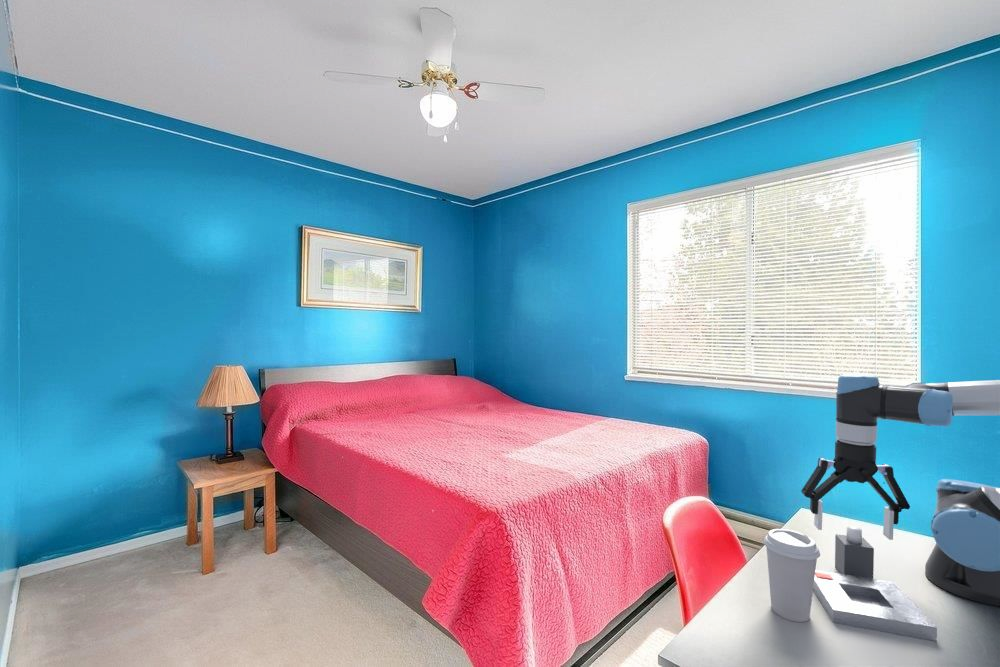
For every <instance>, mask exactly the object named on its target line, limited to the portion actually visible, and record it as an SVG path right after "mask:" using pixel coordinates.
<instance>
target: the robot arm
mask: <svg viewBox="0 0 1000 667" xmlns="http://www.w3.org/2000/svg"><path fill="white" fill-rule="evenodd" d="M836 390H837V391H836V392H835V394H836V406H835V407H836V409H835V410H836V414H835V438H837V439H836V440H834V442H835V443H834V445H835V446H834V458H833V460H830V459H825V458H823V457H819V458H818V461H817V465H816V467H815V469H814V471H813V472H812V473H811V475H810V477H809V478H808V479H807V481H806V483H805V484H804V486H803V487H802V489H801V493H802V494H803V496H804V497H805V498H809V499H810V500H809V502H810V505H809V509H810V510H809V511H810V512H811V513H812V514H814V522H813V523H814V524H813V525H814V526H815V528H816V529H817V530H819V531H822V530H823V529H822V528H823V511H824V508H823V506H824V503H823V501H822V500H821V499H822V498H823V497H824V496H826V494H828V493H829V492H830V491H831V490H832V489H834V488H835V487H837V485H838V484H841V483H842V482H844V481H846V482H849V483H855V482H856V483H859V484H865V483H868V485H870V487H871V488H872V489H873V490H874V491H875V492H876V493H877V494H878V495H879V496H880V498H881V499H882V500H883V501H884V502H885V504H887V506H883V524H882V526H883V528H882V535H883V536H885V537H886V539H887V540H890V541H893V540H894V525H898V524H899V519H900V518H899V515H900V514H899V513H901V512H903V510H909V509H911V506H910V503H909V501H908V500H907V499H906V497H905V494H904V493H903V491H902V489H901V488H900V485H899V484H898V482H897V479H896V478H895V476H894V475H895V474H894V468H893V466H890V465H889V464H887V463H882V464H877V446H876V444H875V443H877V442H878V441H877V438H878V419H881V420H889V421H890V420H891V421H897V422H903V423H912V424H918V425H925V426H926V427H927V426H929V427H931V426H935V427H937V426H938V427H949V426H951V425H952V420H953V419H952V418H953V417H955V416H959V417H960V416H1000V379H995V380H993V379H992V380H990V379H989V380H972V381H970V380H969V381H967V380H966V381H955V382H954V381H953V382H951V381H950V382H949V381H948V382H930V383H928V382H927V383H926V382H913V383H910V384H907V385H905V386H903V387H902V386H889V385H884V384H881V383H880V380H879V377H878V376H875V375H869V374H868V375H867V374H859V373H858V374H856V373H844V374H841V375H839V377H838V379H837V388H836ZM831 467H833V468H834V469H835V470H834V471H833V472H832V473H831V474H830V476H829V477H828V478H826V479H825V480H824V481H823V482H822V483H821V484H820V482H821V480H822V479H823V478H824V476H825V474H826V472H827V470H830V468H831ZM878 472H879V473H880V474H881V475H882V476H883V478H884V480H885V482H886V484H887V486H888V487H889V489H890V491H891V493H892V495H893V497H894V498H895V500H896V501H894V499H893V498H892V497H891V496H890V495H889V494H888V492H887V491H886V490H885V489H884V488H883V486H881V485H880V483H879V482H878V480H876V479H875V478H874V477H873V476H874V475H876V474H877V473H878ZM935 491H936V507H935V510H934V515H933V517H932V519H931V522H930V530H931V533H932V536H933V539H934V541H935V545H934V546H933V549H932V551H931V552H930V555H929V556H928V558H927V561H926V562H925V567H924V575H925V577H926V578H927V579H928V581H930V583H932V584H934V585H936V586H937V587H939V588H940V589H943V590H945V591H947V592H949V593H951V594H953V595H955V596H959V597H961V598H965V599H967V600H971V601H973V602H976V603H980V604H985V605H990V606H994V607H995V606H996V607H1000V487H997V486H993V485H987V484H982V483H977V482H972V481H967V480H966V481H965V480H959V479H958V480H957V479H952V478H951V479H950V478H943V479H939V480H938V482H937V486H936V488H935Z"/></svg>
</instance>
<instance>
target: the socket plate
mask: <svg viewBox="0 0 1000 667" xmlns="http://www.w3.org/2000/svg"><path fill="white" fill-rule="evenodd" d="M813 592H814V594H815V595H816V597H817V599H818V600H819V602H820V603H821V605H822V607H823V609H824V611H825V612H826V613H827V616H829V618H830V620H831V621H832V623H834V624H835V623H836V624H841V625H846V626H851V627H855V628H856V627H857V628H863V629H867V630H872V631H873V630H874V631H879V632H883V633H888V634H889V633H890V634H894V635H895V634H896V635H901V636H906V637H912V638H917V639H922V640H927V641H933V642H938V636H937V635H938V627H937V626H936V625H935V624H934V623H933V622H932V621H931V620H930V619H929V618H928V617H927V616H926V614H924V613H923V611H921V609H919V607H918V606H916V605H915V603H914V602H913V601H912V600H911V599H910V598H909V597H908V596H907V594H905V593H904V592H903V591H902V590H901V589H900V587H899V586H897V584H896V583H895V582H893V581H890V580H884V579H883V580H882V579H876V578H873V579H871V578H864V577H858V576H851V575H845V574H840V573H839V572H838V573H836V572H831V571H824V570H817V569H815V577H814V585H813Z"/></svg>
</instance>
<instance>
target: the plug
mask: <svg viewBox="0 0 1000 667" xmlns="http://www.w3.org/2000/svg"><path fill="white" fill-rule="evenodd" d="M834 538H835V542H834V569H835V570H836V571H837V572H838V574H845V575H851V576H858V577H864V578H871V579H874V565H875V564H874V563H875V562H874V561H875V560H874V558H875V552H874V551H875V547H873V546H872V545H871V544H870V543H869V542H868V541H867V540H866V539H865V538H864V537H863V529H862V528H861V527H858V526H855V525H846V534H845V535H844V534H835V537H834Z"/></svg>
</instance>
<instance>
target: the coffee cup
mask: <svg viewBox="0 0 1000 667" xmlns="http://www.w3.org/2000/svg"><path fill="white" fill-rule="evenodd" d="M763 545H764V546H765V547H766V556H767V568H768V569H767V571H768V579H769V580H768V581H769V583H768V584H769V593H770V594H769V596H770V607H771V610H772V611H773V613H775V614H776V615H777V616H779V617H781V618H783V619H785V620H789V621H791V622H796V623H804V622H808V621H809V620H810V618H811V610H812V609H811V608H812V601H813V594H814V593H813V592H814V591H813V585H814V577H815V570H817V569H816V567H817V560H818V559H819V558H820V557H821V553H820V549H819V547H818V545H817V544H816V541H815V540H814V538H812V537H810V536H808V535H807V534H805V533H802V532H799V531H796V530H792V529H786V528H774V529H770V530H769V531H768V533H767V534H766V536H765V537H764V540H763Z"/></svg>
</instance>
